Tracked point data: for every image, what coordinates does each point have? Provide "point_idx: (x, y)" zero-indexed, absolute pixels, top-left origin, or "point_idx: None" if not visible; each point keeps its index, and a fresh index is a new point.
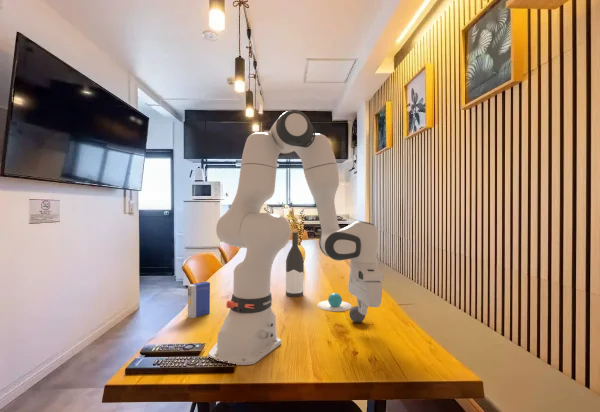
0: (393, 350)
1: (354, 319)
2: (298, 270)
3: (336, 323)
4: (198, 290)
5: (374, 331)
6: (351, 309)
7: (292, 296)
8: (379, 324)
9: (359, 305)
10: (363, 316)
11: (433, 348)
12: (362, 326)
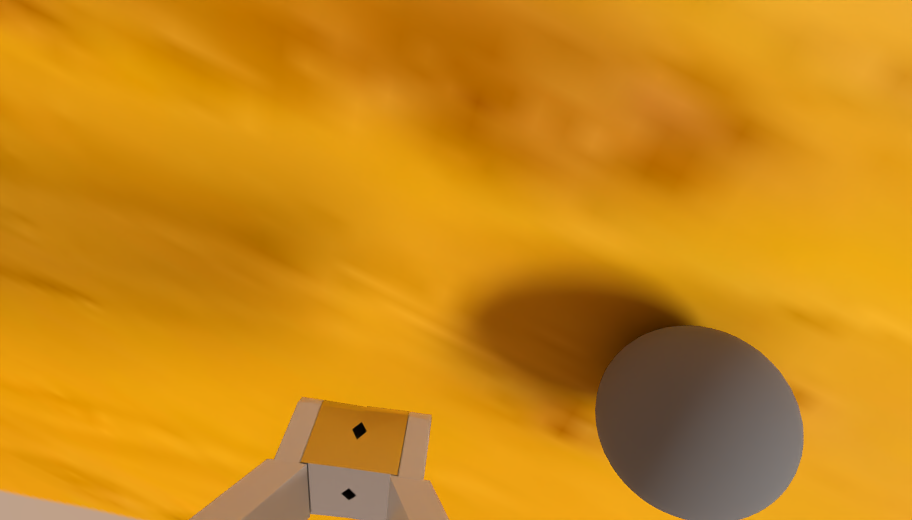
0: (51, 308)
1: (638, 341)
2: None
3: (761, 145)
4: None
5: (411, 370)
6: (745, 415)
7: None
8: (534, 464)
9: (401, 507)
10: (598, 434)
11: (109, 495)
12: (548, 344)
